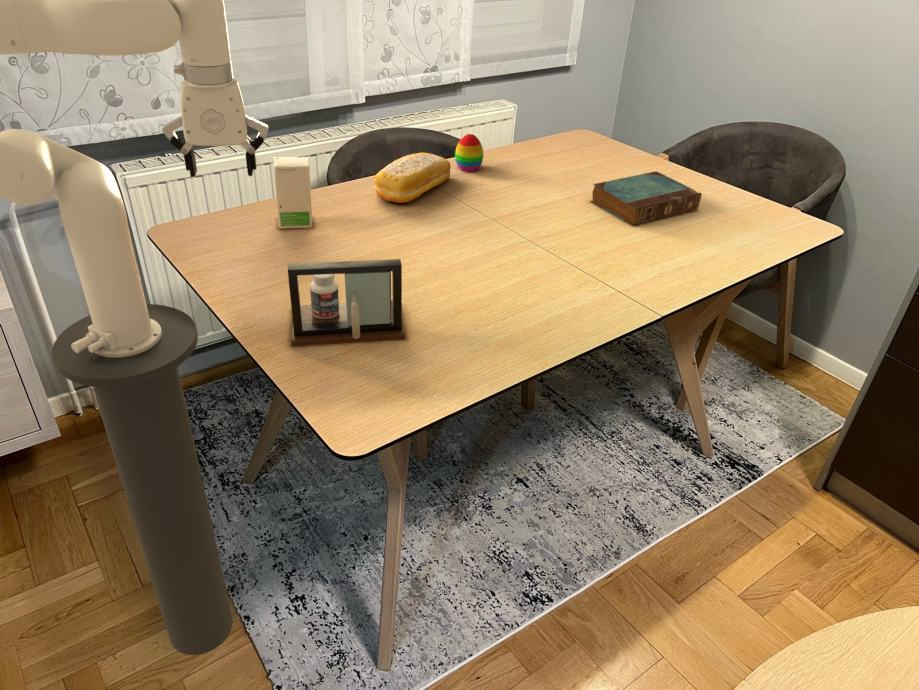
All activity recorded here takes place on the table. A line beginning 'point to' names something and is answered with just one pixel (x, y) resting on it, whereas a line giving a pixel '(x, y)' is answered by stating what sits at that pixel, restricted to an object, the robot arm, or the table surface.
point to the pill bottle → (324, 296)
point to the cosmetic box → (293, 192)
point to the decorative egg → (469, 153)
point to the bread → (411, 177)
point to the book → (645, 197)
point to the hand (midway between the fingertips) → (222, 173)
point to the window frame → (343, 305)
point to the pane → (367, 299)
